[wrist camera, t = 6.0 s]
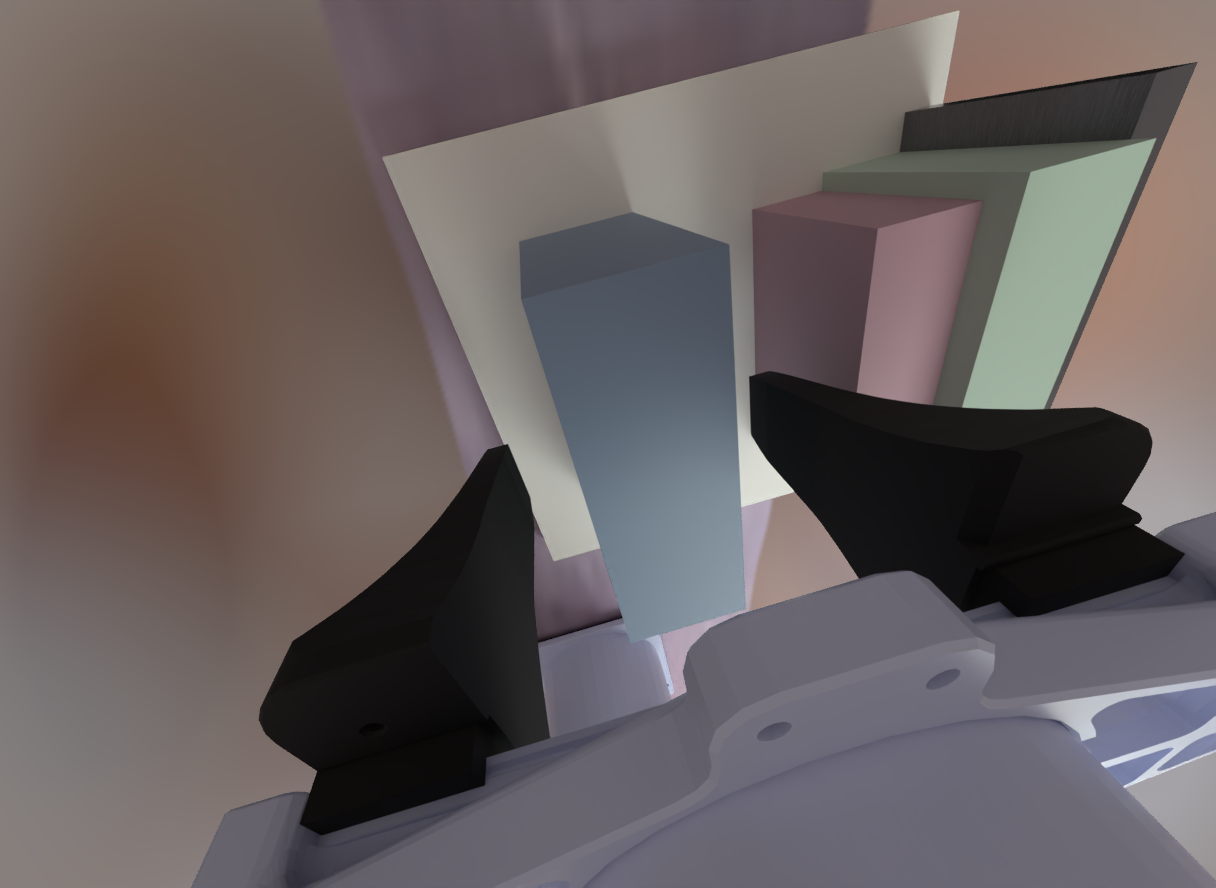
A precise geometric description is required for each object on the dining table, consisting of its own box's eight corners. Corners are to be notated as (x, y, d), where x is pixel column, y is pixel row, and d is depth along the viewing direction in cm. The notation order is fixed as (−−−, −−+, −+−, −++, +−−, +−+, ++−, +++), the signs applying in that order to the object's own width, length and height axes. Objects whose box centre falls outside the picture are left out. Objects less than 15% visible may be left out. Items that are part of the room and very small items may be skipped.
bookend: (875, 436, 19) (999, 526, 14) (858, 440, 19) (977, 533, 14) (930, 105, 13) (1196, 62, 8) (905, 111, 13) (1156, 72, 8)
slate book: (673, 470, 18) (745, 608, 13) (594, 492, 18) (630, 643, 12) (632, 212, 13) (729, 244, 7) (519, 241, 13) (520, 299, 7)
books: (861, 422, 19) (996, 520, 13) (756, 451, 19) (852, 563, 13) (899, 151, 13) (1156, 137, 8) (751, 191, 13) (912, 203, 8)
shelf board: (860, 454, 21) (877, 468, 20) (551, 543, 21) (553, 561, 20) (924, 22, 13) (959, 10, 12) (393, 158, 12) (381, 157, 11)
